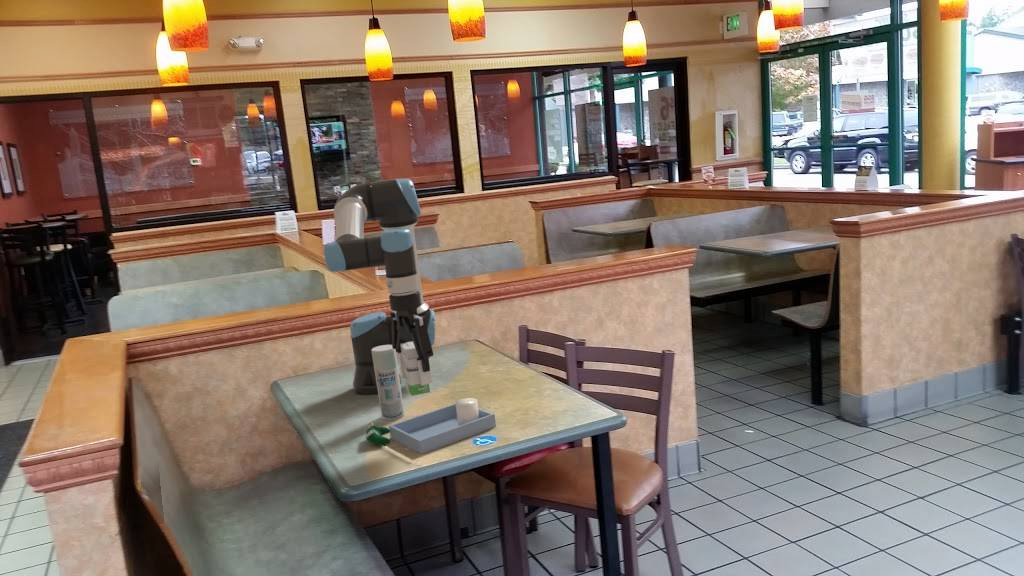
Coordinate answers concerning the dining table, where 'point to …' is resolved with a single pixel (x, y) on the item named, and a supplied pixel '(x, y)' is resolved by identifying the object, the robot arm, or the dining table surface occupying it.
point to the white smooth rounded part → (467, 410)
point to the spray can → (388, 382)
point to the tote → (438, 429)
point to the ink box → (412, 369)
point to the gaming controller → (377, 435)
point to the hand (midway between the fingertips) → (416, 380)
